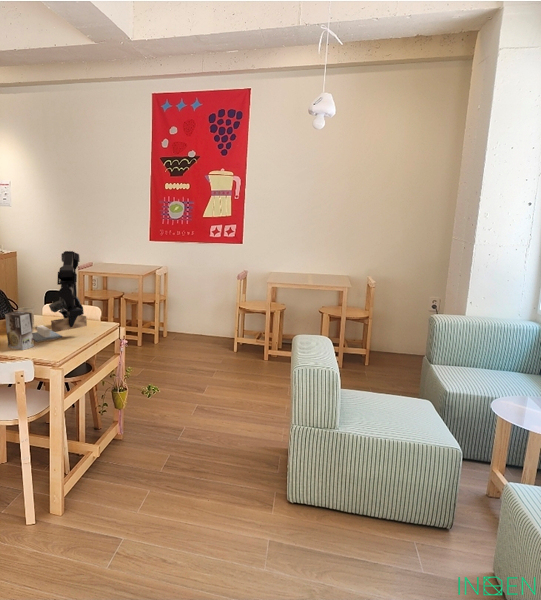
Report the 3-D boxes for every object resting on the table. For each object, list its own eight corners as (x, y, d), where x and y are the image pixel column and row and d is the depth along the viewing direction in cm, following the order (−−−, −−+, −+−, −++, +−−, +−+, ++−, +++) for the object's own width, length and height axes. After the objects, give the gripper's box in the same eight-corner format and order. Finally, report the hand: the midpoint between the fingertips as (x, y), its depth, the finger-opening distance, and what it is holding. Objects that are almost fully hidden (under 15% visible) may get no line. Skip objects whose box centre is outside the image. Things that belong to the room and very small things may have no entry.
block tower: (31, 335, 224) (35, 320, 250) (30, 319, 222) (34, 305, 248) (13, 336, 221) (19, 321, 247) (12, 320, 219) (18, 306, 245)
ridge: (50, 331, 229) (50, 323, 228) (61, 337, 219) (61, 328, 219) (25, 335, 220) (25, 326, 219) (36, 341, 211) (35, 332, 210)
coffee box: (34, 346, 204) (32, 312, 201) (22, 350, 198) (20, 315, 195) (19, 343, 207) (16, 310, 204) (7, 347, 201) (4, 313, 198)
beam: (83, 324, 224) (82, 315, 223) (86, 326, 222) (86, 316, 221) (51, 330, 211) (51, 320, 210) (55, 332, 209) (54, 321, 208)
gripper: (42, 293, 213) (44, 324, 217) (58, 300, 201) (60, 333, 204) (66, 291, 222) (67, 321, 225) (82, 297, 209) (84, 329, 212)
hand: (69, 326), depth 216 cm, fingers closed on beam, 4 cm apart
